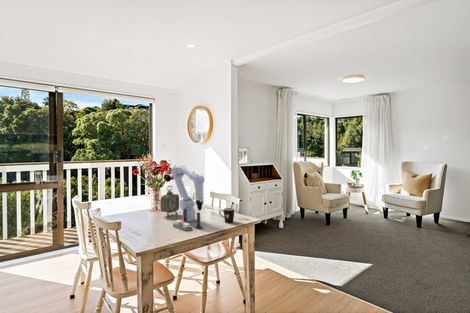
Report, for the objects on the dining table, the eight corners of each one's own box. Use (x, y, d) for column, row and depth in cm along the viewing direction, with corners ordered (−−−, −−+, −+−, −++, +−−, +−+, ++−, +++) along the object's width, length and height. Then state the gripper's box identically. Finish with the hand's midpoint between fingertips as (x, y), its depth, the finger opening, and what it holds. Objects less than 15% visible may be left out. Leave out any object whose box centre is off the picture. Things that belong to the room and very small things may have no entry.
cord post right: (199, 226, 205) (199, 211, 204) (203, 228, 201) (203, 212, 201) (193, 228, 201) (193, 212, 201) (197, 229, 198) (197, 214, 197)
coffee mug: (237, 222, 216) (236, 209, 216) (228, 224, 210) (228, 211, 210) (226, 219, 225) (226, 206, 224) (218, 221, 219) (218, 208, 218)
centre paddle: (182, 223, 204) (182, 220, 204) (185, 224, 202) (185, 221, 201) (178, 224, 202) (178, 221, 202) (181, 225, 199) (181, 222, 199)
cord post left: (185, 221, 217) (185, 207, 217) (189, 223, 214) (189, 208, 213) (180, 223, 214) (180, 208, 213) (184, 224, 210) (183, 210, 210)
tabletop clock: (168, 218, 228) (167, 187, 227) (159, 216, 232) (159, 186, 231) (179, 214, 241) (179, 185, 240) (171, 213, 245) (170, 184, 244)
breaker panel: (179, 224, 210) (179, 219, 210) (192, 229, 198) (192, 223, 198) (172, 226, 206) (172, 220, 205) (185, 231, 194) (185, 225, 194)
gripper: (192, 191, 217) (192, 208, 217) (195, 193, 203) (196, 212, 203) (201, 190, 219) (201, 207, 219) (205, 193, 205) (205, 211, 206)
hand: (199, 210), depth 211 cm, fingers closed
